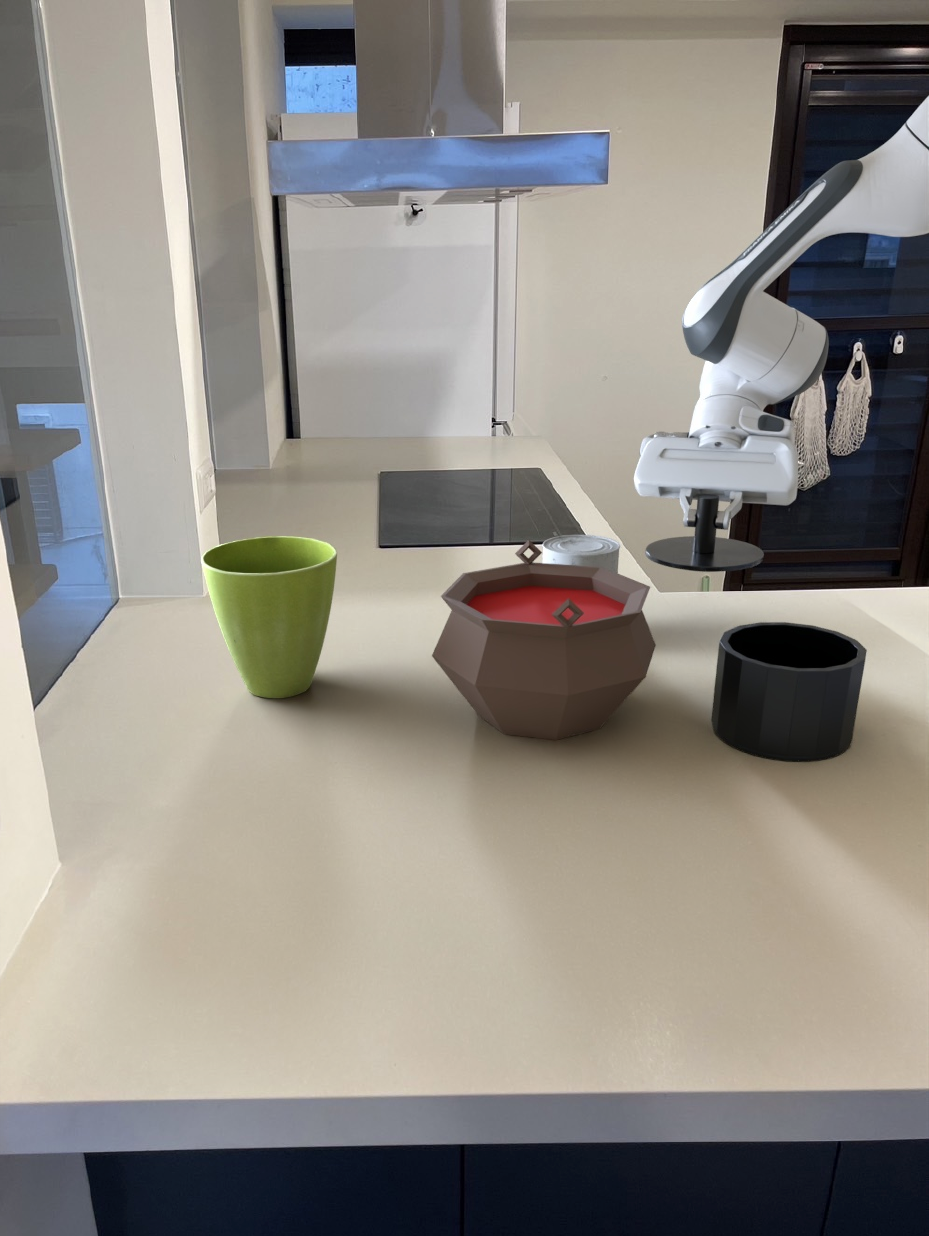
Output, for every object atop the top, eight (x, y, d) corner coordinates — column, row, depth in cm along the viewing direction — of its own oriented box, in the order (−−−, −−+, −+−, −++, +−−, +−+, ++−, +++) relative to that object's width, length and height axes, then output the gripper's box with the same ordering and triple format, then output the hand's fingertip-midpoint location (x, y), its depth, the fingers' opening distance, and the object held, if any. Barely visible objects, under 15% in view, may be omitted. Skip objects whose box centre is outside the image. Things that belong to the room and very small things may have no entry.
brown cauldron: (686, 755, 100) (700, 597, 93) (443, 768, 98) (441, 608, 92) (622, 665, 122) (631, 531, 115) (424, 674, 120) (421, 540, 114)
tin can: (614, 626, 134) (619, 535, 129) (614, 652, 125) (620, 555, 121) (542, 623, 136) (544, 533, 131) (537, 648, 127) (540, 553, 122)
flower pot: (366, 693, 115) (360, 558, 109) (244, 724, 109) (230, 581, 102) (310, 654, 127) (302, 529, 121) (197, 679, 120) (182, 549, 114)
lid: (746, 543, 136) (752, 483, 133) (776, 575, 123) (784, 508, 119) (637, 545, 137) (640, 485, 134) (655, 577, 124) (659, 510, 120)
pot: (826, 704, 110) (838, 621, 106) (872, 762, 97) (888, 670, 94) (699, 704, 111) (707, 622, 107) (729, 761, 98) (739, 671, 94)
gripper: (641, 416, 133) (620, 506, 129) (806, 422, 125) (790, 518, 121) (646, 445, 138) (626, 532, 134) (805, 452, 131) (789, 545, 126)
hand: (705, 525), depth 127 cm, fingers closed on lid, 2 cm apart
